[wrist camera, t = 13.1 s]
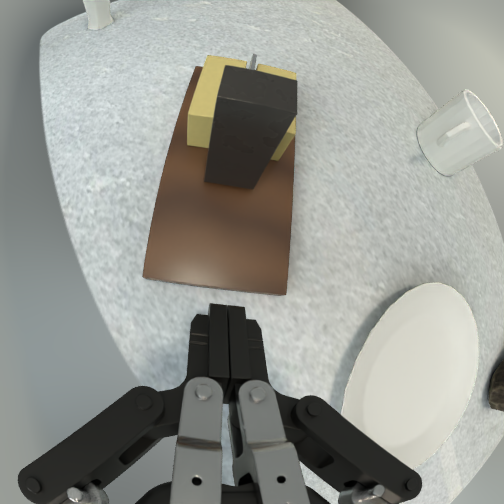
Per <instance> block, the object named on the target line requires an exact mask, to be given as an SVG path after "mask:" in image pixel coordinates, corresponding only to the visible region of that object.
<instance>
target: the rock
mask: <svg viewBox="0 0 504 504" xmlns="http://www.w3.org/2000/svg"><path fill="white" fill-rule="evenodd" d="M489 404H490V407H491V409H496V410H500V411H504V360H503V361H502V362H501V364H500V365H499V367H498V368H497V369H496V371H495V373H494V374H493V376H492V379H491V381H490V389H489Z"/></svg>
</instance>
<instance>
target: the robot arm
mask: <svg viewBox="0 0 504 504" xmlns="http://www.w3.org/2000/svg"><path fill="white" fill-rule="evenodd" d="M262 340H263V339H262V332H261V328H260V327H259V325H258V323H257V322H256V320H252V319H246V314H245V307H240V306H231V305H221V304H212V303H210V305H209V311H208V315H201V314H196V316H195V317H194V319H193V320H192V322H191V329H190V340H189V352H188V365H187V376H186V379H185V380H184V382H183V383H182V384H181V385H180V386H178V387H177V388H174V389H171V390H165V391H159V392H157V391H156V390H155V389H153V388H151V387H147V386H138V387H135V388H133V389H131V390H130V391H128V392H127V393H126V394H125V395H123V396H122V397H121V398H119V399H118V400H117V401H116V402H114V403H113V404H112V405H110V406H109V407H108V408H106V409H105V410H104V411H102V412H101V413H100V414H98V415H97V416H96V417H95V418H93V419H92V420H91V421H89V422H88V423H87V424H85V425H84V426H83V427H81V428H80V429H78V430H77V431H76V432H74V433H73V434H72V435H70V436H69V437H68V438H66V439H65V440H63V441H62V442H61V443H59V444H58V445H57V446H55V447H53V448H52V449H51V450H49V451H48V452H47V453H45V454H44V455H42V456H41V457H39V458H38V459H36V460H35V461H34V462H32V463H31V464H29V465H28V466H26V467H25V468H23V469H22V470H21V471H20V473H19V475H18V484H19V487H20V490H21V492H22V493H23V494H24V496H25V497H26V498H27V499H28V500H30V501H31V502H33V503H35V504H109V498H108V496H107V494H106V493H105V491H104V490H103V488H105V487H106V486H107V485H108V484H110V483H111V482H112V481H113V480H115V479H116V478H117V477H118V476H120V475H121V474H122V473H123V472H124V471H126V470H127V469H128V468H129V467H130V466H131V465H133V464H134V463H135V462H136V461H138V459H140V458H141V457H142V456H143V455H144V454H145V453H147V452H148V451H149V450H150V449H151V448H152V447H153V446H155V445H156V444H157V443H158V442H159V441H160V440H161V439H162V438H164V437H169V436H174V435H178V437H177V442H176V448H175V456H174V465H173V475H172V481H171V482H167V483H163V484H160V485H158V486H156V487H154V488H152V489H151V490H149V491H148V492H147V493H146V494H145V495H144V496H143V497H142V498H141V499H139V500H138V501H137V502H136V503H135V504H330V503H329V502H328V501H327V500H325V499H324V498H323V497H322V496H320V495H319V494H318V493H317V492H316V491H314V490H313V489H311V488H310V487H308V486H306V485H305V482H304V478H303V475H302V471H301V467H300V463H299V461H301V462H302V463H303V464H304V465H305V466H306V467H308V468H309V469H310V470H311V471H313V472H314V473H315V474H316V475H317V476H319V477H320V478H321V479H323V480H324V481H325V482H326V483H328V484H329V485H330V486H332V487H333V488H334V489H336V490H337V491H338V492H340V495H339V499H338V503H339V504H399V503H401V502H405V501H408V500H411V499H413V498H415V497H416V496H417V495H418V494H419V493H420V491H421V488H422V479H421V477H420V475H419V474H418V473H417V472H415V471H414V470H412V469H411V468H410V467H408V466H407V465H405V464H404V463H403V462H401V461H400V460H398V459H397V458H396V457H394V456H393V455H392V454H390V453H389V452H388V451H386V450H385V449H384V448H382V447H381V446H380V445H378V444H377V443H376V442H374V441H373V440H372V439H371V438H369V437H368V436H367V435H365V434H364V433H363V432H362V431H360V430H359V429H358V428H357V427H355V426H354V425H353V424H352V423H350V422H349V421H348V420H347V419H346V418H344V417H343V416H342V415H341V414H339V413H338V412H337V411H336V410H335V409H334V408H332V407H331V406H330V405H329V404H328V403H326V402H325V401H324V400H323V399H321V398H320V397H317V396H312V395H310V396H305V397H303V398H301V399H300V400H299V399H296V398H292V397H288V396H285V395H282V394H280V393H278V392H277V391H276V390H274V389H273V387H272V386H271V385H270V383H269V380H268V374H267V367H266V360H265V353H264V346H263V341H262ZM223 404H229V415H228V419H227V420H228V428H229V435H230V442H231V449H232V455H233V465H232V470H233V478H234V484H235V486H230V485H225V484H221V482H222V446H221V427H222V407H223Z"/></svg>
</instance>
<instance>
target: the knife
mask: <svg viewBox="0 0 504 504" xmlns="http://www.w3.org/2000/svg"><path fill="white" fill-rule="evenodd" d="M256 57H257V55H255V54H253V56H252V59H251V63H250V66H249V69H247V68H242V67H236V66H230V65H225V67H224V71H223V75H222V78H221V82H220V86H219V90H218V94H217V98H216V104H215V109H214V115H213V122H212V128H211V134H210V141H209V148H208V155H207V162H206V169H205V177H204V182H210V183H216V184H222V185H229V186H235V187H241V188H247V189H252V190H253V189H254V188H255V186H256V184H257V182H258V180H259V179H260V177H261V175H262V173H263V172H264V170H265V168H266V166H267V165H268V163H269V161H270V159H271V158H272V156H273V154H274V152H275V151H276V149H277V147H278V146H279V144H280V142H281V140H282V139H283V137H284V135H285V134H286V132H287V130H288V128H289V127H290V125H291V123H292V122H293V120H294V118H295V117H296V115H297V80H293V79H290V78H286V77H282V76H278V75H274V74H270V73H266V72H261V71H257V70H254V69H255V63H256Z"/></svg>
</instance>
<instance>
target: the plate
mask: <svg viewBox="0 0 504 504" xmlns="http://www.w3.org/2000/svg"><path fill="white" fill-rule="evenodd" d="M478 364H479V338H478V330H477V325H476V322H475V319H474V316H473V313H472V310H471V308H470V306H469V305H468V303H467V302H466V300H465V298H464V297H463V296H462V295H461V294H460V293H459V292H458V291H456V290H455V289H454V288H453V287H451V286H449V285H446V284H443V283H440V282H434V283H423V284H421V285H419V286H417V287H415V288H413V289H411V290H409V291H407V292H405V293H404V294H403V295H402V296H401V297H400V298H399V299H397V300H396V301H395V302H394V303H393V304H392V305H391V306H389V307H388V308H387V310H386V311H385V313H384V314H383V315H382V317H381V318H380V319H379V321H378V322H377V323H376V325H375V326H374V327H373V329H372V330H371V331H370V333H369V335H368V337H367V339H366V341H365V343H364V345H363V347H362V349H361V351H360V353H359V354H358V356H357V358H356V360H355V363H354V366H353V369H352V372H351V375H350V378H349V380H348V383H347V386H346V388H345V393H344V399H343V405H342V410H341V415H342V416H343V417H344V418H346V419H347V420H348V421H349V422H350V423H352V424H353V425H354V426H355V427H357V428H358V429H359V430H360V431H362V432H363V433H364V434H365V435H367V436H368V437H369V438H371V439H372V440H373V441H374V442H376V443H377V444H378V445H380V446H381V447H382V448H384V449H385V450H386V451H388V452H389V453H390V454H392V455H393V456H394V457H396V458H397V459H398V460H400V461H401V462H403V463H404V464H405V465H407V466H408V467H410V468H411V469H414V468H416V467H418V466H419V465H421V464H422V463H424V462H425V461H426V460H427V459H429V458H430V457H431V456H432V455H433V454H434V453H436V452H437V451H438V449H439V448H440V447H441V446H442V445H443V444H444V443H445V442H446V440H447V439H448V438H449V437H450V435H451V434H452V432H453V431H454V429H455V428H456V426H457V425H458V423H459V422H460V420H461V418H462V416H463V414H464V412H465V410H466V408H467V405H468V403H469V401H470V398H471V395H472V392H473V388H474V385H475V382H476V376H477V370H478Z"/></svg>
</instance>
